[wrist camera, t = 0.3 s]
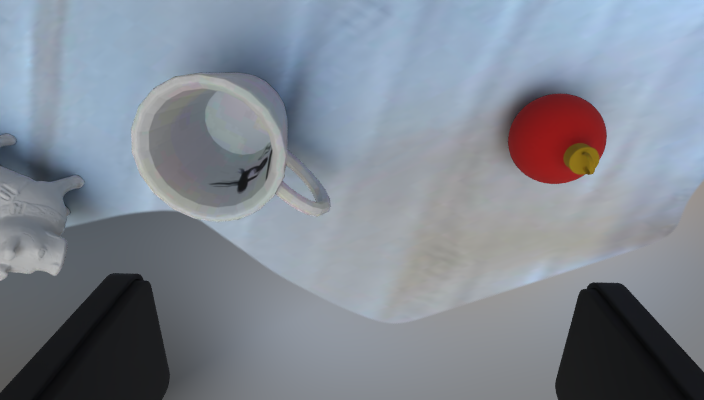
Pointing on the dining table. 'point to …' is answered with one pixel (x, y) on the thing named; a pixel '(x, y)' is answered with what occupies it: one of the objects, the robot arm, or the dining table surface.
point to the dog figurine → (32, 220)
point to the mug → (219, 147)
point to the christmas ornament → (557, 138)
